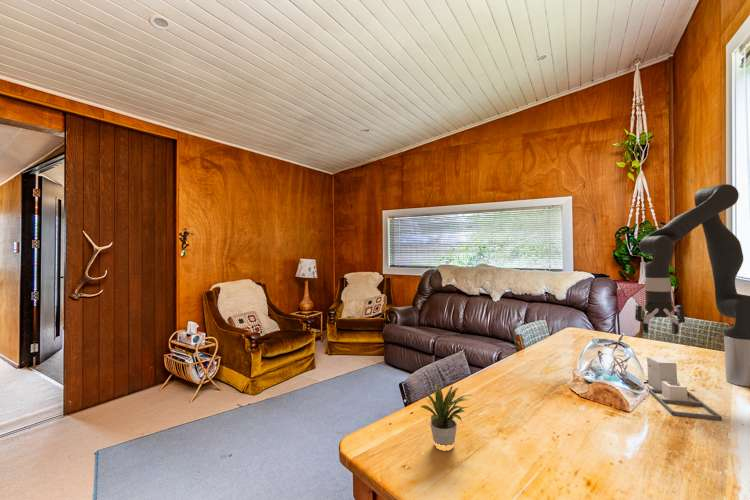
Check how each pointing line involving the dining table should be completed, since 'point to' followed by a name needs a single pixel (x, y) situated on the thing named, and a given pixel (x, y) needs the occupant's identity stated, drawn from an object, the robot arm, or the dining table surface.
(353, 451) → the dining table surface
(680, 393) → the white and grey cube
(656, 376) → the small box
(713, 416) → the frame
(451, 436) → the house plant
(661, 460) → the dining table surface
